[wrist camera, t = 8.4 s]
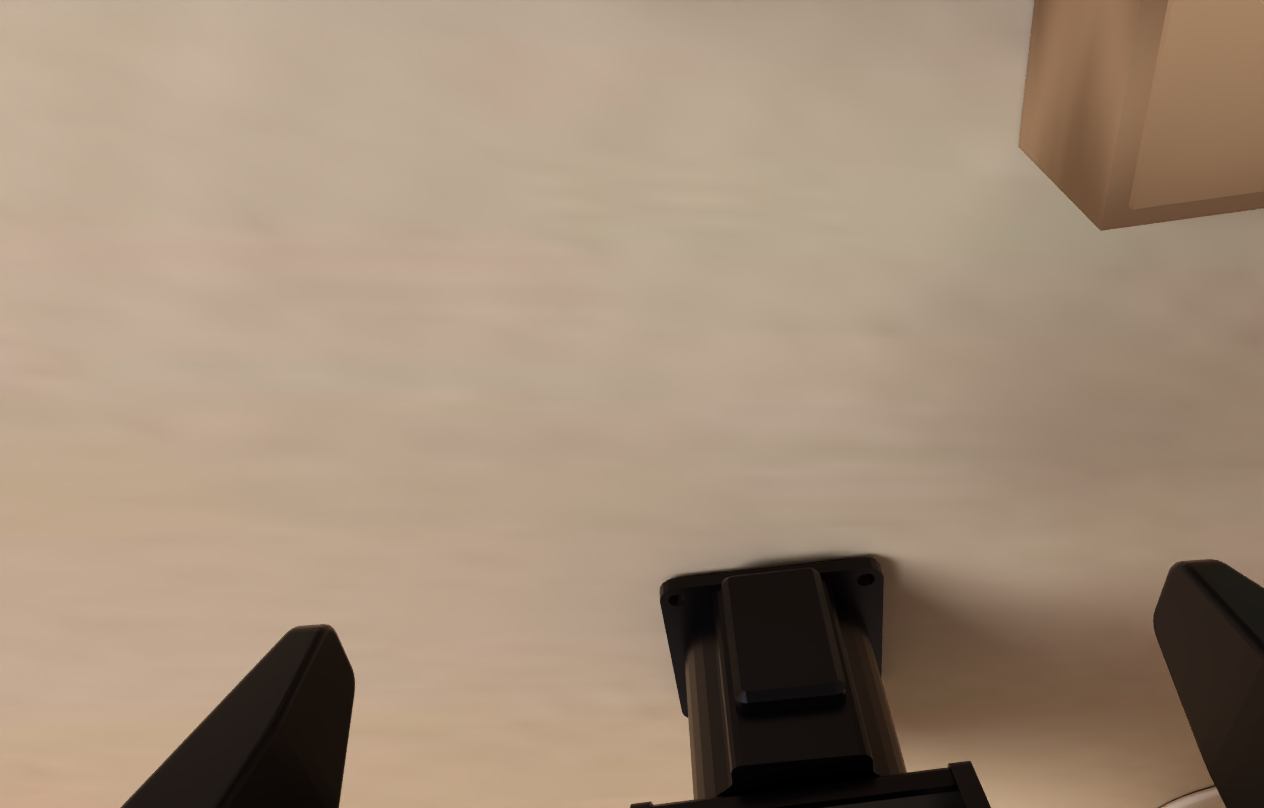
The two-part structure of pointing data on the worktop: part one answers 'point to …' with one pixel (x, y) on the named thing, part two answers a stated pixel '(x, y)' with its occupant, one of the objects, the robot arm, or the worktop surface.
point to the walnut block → (1148, 106)
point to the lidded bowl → (1198, 800)
